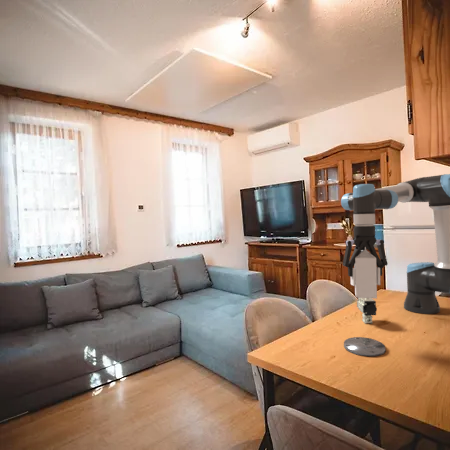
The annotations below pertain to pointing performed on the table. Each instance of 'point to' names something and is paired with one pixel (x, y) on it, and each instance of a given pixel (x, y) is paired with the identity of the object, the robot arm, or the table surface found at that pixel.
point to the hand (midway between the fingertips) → (365, 284)
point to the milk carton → (365, 275)
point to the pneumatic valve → (367, 308)
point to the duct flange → (364, 346)
